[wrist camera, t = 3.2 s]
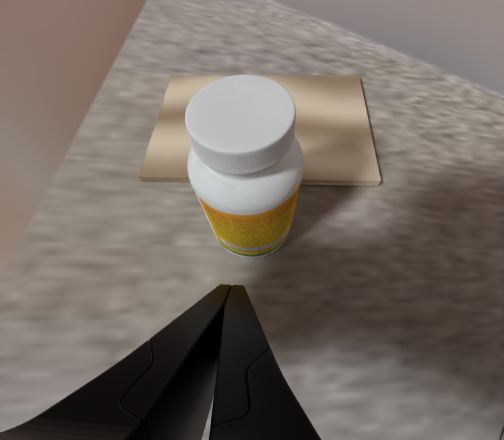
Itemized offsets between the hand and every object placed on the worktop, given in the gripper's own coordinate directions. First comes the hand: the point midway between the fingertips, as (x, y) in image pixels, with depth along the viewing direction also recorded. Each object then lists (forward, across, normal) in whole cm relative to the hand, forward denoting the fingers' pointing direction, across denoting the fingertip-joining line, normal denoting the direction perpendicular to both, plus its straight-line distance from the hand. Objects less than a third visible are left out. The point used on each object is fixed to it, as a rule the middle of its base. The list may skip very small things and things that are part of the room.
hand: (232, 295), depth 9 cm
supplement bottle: (+9, 0, +1) cm, 9 cm away
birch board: (+16, 0, -6) cm, 17 cm away
